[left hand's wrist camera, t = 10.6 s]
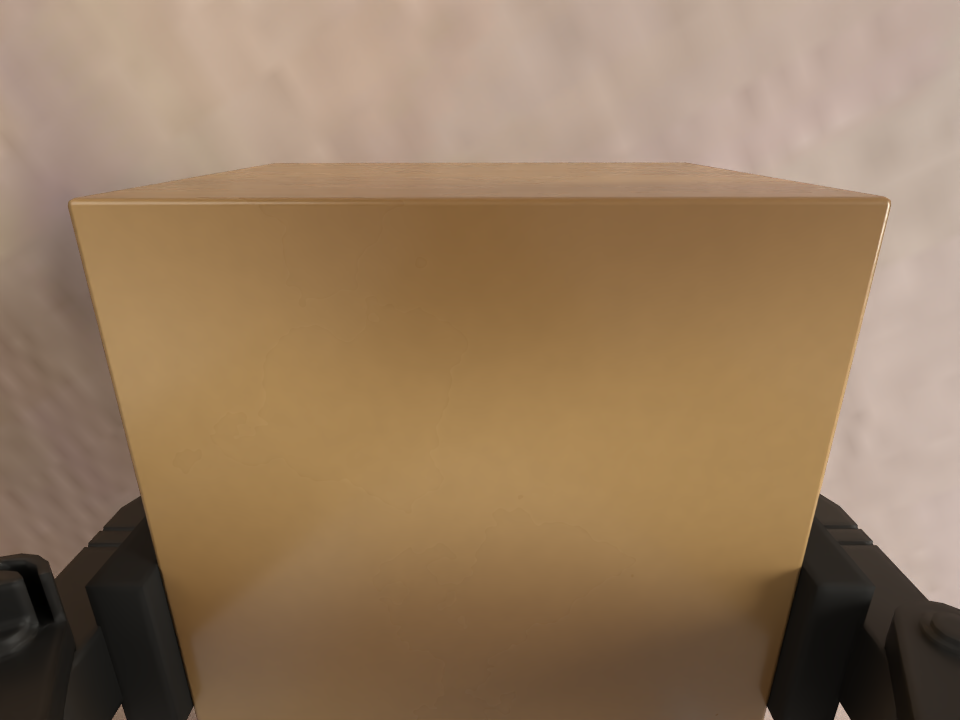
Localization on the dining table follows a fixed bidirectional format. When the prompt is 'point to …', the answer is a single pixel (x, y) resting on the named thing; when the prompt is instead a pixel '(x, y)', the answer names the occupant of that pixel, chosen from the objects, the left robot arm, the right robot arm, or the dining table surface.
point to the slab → (479, 428)
